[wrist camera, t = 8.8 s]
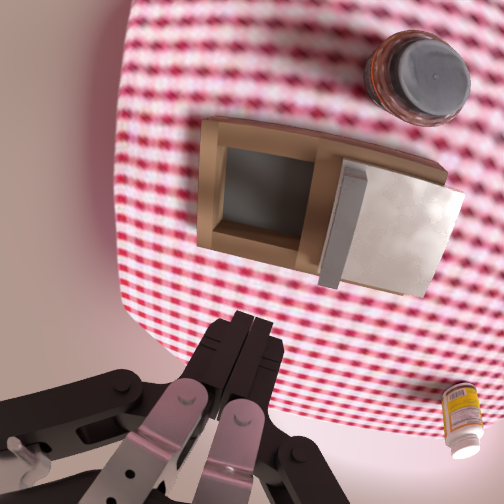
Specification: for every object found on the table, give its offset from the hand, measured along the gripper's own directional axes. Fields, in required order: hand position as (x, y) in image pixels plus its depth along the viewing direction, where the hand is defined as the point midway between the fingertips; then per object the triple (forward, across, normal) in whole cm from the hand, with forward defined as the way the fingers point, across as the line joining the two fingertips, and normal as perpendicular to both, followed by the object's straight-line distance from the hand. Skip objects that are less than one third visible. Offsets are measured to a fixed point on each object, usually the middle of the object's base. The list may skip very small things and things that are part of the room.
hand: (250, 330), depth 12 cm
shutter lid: (+15, -8, +1) cm, 17 cm away
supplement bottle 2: (+18, -30, +20) cm, 41 cm away
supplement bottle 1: (+19, -5, -11) cm, 22 cm away
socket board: (+18, -1, +1) cm, 19 cm away
